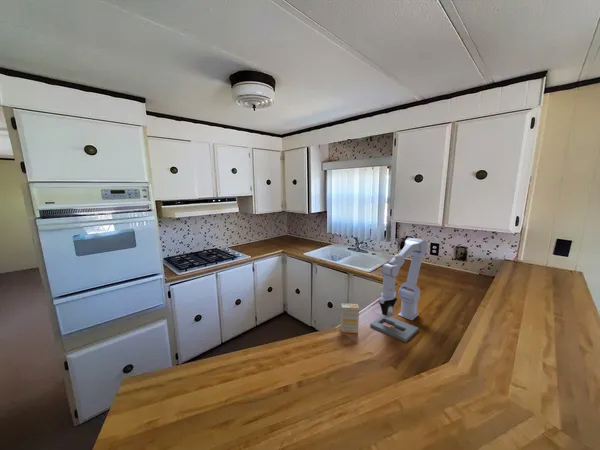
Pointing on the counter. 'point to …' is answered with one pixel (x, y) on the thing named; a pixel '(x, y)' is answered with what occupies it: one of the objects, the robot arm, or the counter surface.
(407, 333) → the keyhole plate
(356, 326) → the supplement box
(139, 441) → the counter surface
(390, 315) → the headed peg
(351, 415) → the counter surface
